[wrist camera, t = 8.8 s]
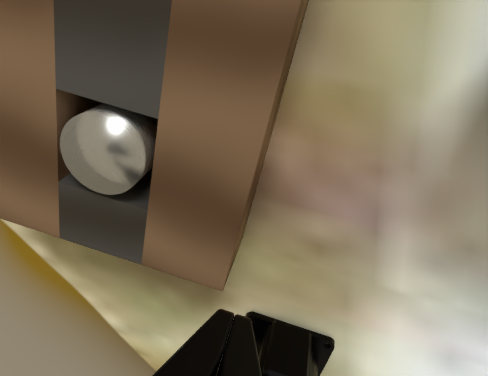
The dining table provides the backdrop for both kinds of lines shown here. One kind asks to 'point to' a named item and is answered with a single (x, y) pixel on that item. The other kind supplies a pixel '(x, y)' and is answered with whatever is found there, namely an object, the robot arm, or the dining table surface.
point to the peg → (109, 147)
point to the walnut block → (150, 104)
